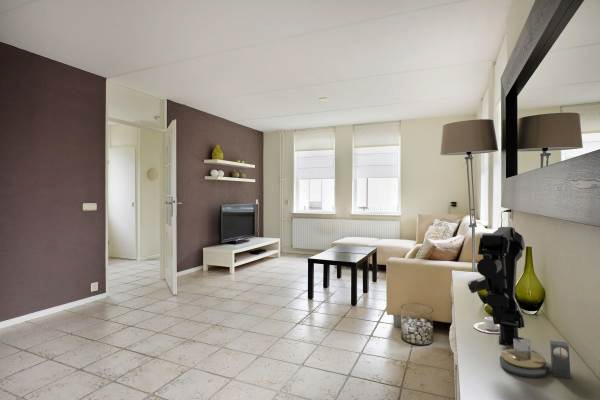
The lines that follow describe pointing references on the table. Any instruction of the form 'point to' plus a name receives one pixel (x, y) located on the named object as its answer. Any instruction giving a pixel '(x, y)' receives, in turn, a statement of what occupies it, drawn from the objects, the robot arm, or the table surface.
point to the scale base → (558, 364)
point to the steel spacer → (522, 348)
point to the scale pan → (533, 363)
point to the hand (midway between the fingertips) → (498, 318)
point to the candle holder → (487, 325)
